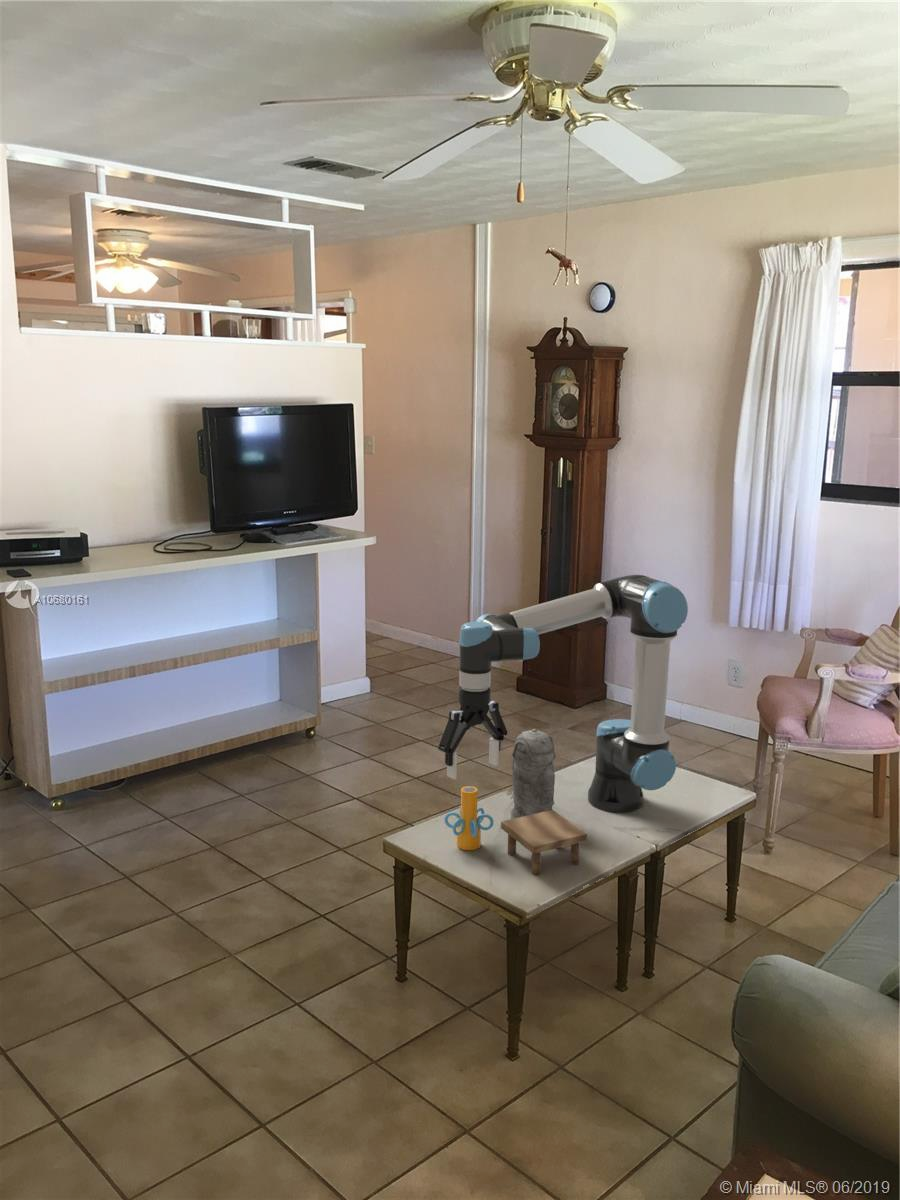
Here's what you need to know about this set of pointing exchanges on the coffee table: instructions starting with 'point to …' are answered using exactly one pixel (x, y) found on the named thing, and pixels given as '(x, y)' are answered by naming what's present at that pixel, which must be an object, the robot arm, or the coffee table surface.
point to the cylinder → (468, 820)
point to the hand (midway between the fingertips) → (473, 770)
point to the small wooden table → (543, 835)
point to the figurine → (533, 774)
